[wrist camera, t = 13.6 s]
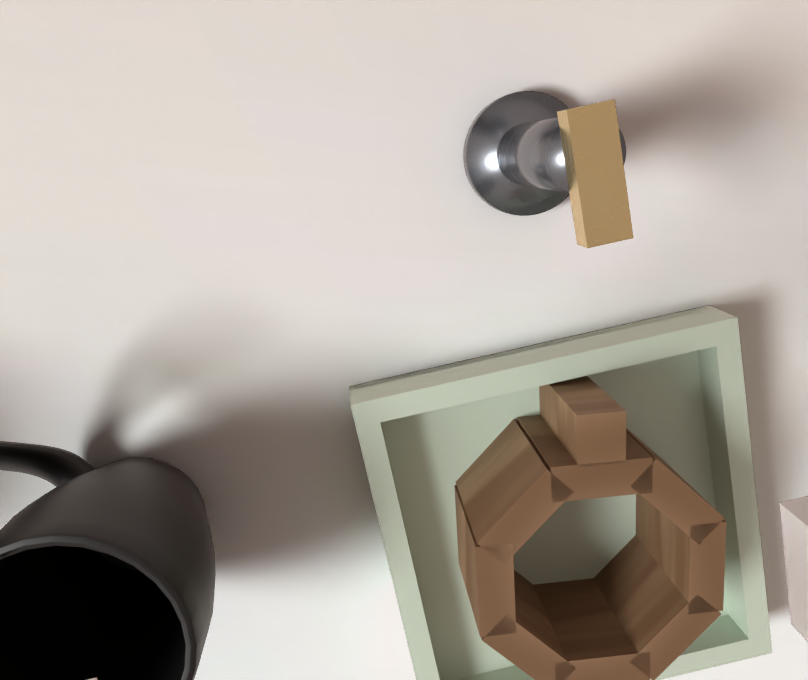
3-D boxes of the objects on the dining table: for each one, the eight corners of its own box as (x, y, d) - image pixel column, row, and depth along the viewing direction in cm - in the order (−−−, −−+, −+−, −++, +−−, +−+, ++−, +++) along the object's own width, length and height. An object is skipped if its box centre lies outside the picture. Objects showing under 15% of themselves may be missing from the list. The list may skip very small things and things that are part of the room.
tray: (349, 386, 33) (350, 404, 30) (708, 305, 33) (737, 317, 31) (423, 696, 37) (429, 734, 34) (744, 620, 37) (772, 652, 35)
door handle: (453, 106, 30) (501, 85, 21) (569, 81, 31) (668, 49, 21) (476, 230, 32) (531, 260, 23) (588, 205, 32) (688, 225, 23)
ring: (448, 381, 33) (469, 425, 27) (668, 361, 33) (731, 401, 28) (461, 619, 35) (483, 701, 30) (664, 597, 36) (720, 674, 31)
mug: (81, 321, 31) (-27, 391, 22) (275, 524, 34) (251, 660, 25) (-64, 444, 32) (-228, 560, 23) (137, 632, 35) (64, 804, 26)
